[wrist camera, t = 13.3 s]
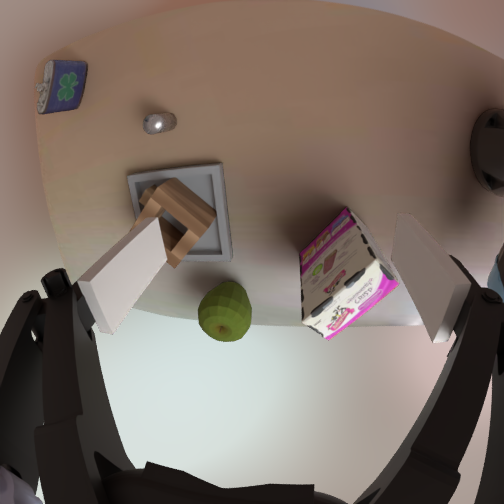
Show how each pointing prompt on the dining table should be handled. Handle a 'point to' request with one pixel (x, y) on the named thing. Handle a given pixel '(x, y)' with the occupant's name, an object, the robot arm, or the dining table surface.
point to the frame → (177, 216)
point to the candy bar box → (342, 275)
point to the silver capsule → (159, 123)
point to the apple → (225, 312)
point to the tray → (207, 188)
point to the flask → (61, 86)
